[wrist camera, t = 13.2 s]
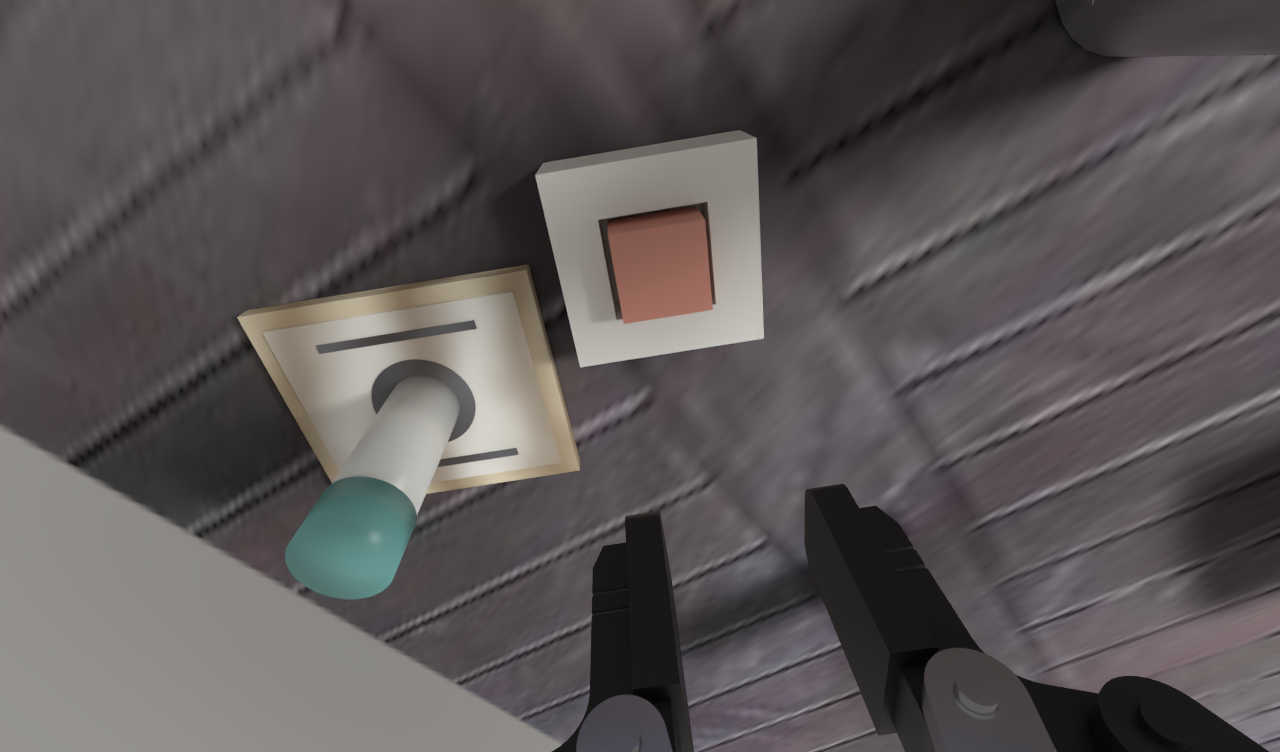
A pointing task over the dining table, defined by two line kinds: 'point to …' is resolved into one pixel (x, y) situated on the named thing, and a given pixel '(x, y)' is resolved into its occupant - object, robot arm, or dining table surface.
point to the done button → (661, 264)
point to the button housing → (648, 183)
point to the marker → (376, 495)
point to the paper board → (425, 371)
